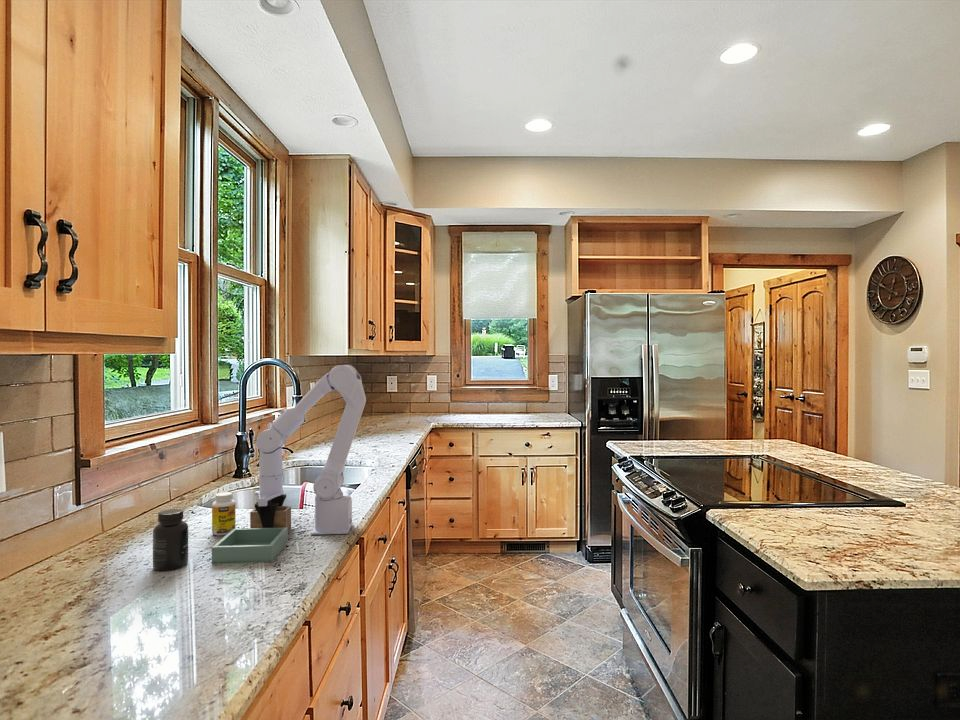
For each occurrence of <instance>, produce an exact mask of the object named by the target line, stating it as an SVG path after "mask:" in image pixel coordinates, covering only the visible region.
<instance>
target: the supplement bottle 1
mask: <svg viewBox="0 0 960 720" xmlns="http://www.w3.org/2000/svg"><path fill="white" fill-rule="evenodd" d="M157 516H158V517H157V522H158V524H156V525H155V526H154V528H153V529H152V567H153V569H154V570H155V571H156V572H157V571H159V572H167V571H168V572H169V571H174V570H177V569H180V568H183V567H185V566H186V565H187V564H188V563H189V524H188V523H187V522H186V521H184V518H185V517H184V516H185V515H184V510H183V509H181V508H170V509H165V510H164V509H163V510H161V511H159V512H158V515H157Z"/></svg>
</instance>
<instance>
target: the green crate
mask: <svg viewBox="0 0 960 720" xmlns="http://www.w3.org/2000/svg"><path fill="white" fill-rule="evenodd" d="M288 535H289V531H288V527H287V528H250V527H249V528H235V529H233V530H232V531H230V532H229V533H228V534H227V535H224V536H223V538H221V539H220V540H218V541H217V542H216V543H215V544H214V545H213V546H212V547H211V564H212V565H217V564H218V565H220V564H250V563H253V564H254V563H256V564H257V563H273V561H274V560H275V559H276V557H277V556H278V555H279V554H280V552H281V551H282V550H283V548H284V547H285V546H286V545H287V544H288V540H289V539H288V538H289V537H288ZM286 543H287V544H286Z"/></svg>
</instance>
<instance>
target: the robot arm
mask: <svg viewBox="0 0 960 720" xmlns="http://www.w3.org/2000/svg"><path fill="white" fill-rule="evenodd" d="M335 390H336V391H337V392H338V393H339V394H340V396H341V397H342V398H343V400H344V403H345V407H344V410H343V413H342V416H341V418H340V420H339V421H340V422H339V424H338V427H337V430H336V433H335V436H334V439H333V442H332V445H331V447H330V451H329V453H328V457H327V459H326V461H325V463H324V466H323V468H322V471H321V474H320V475H318V477H317V478H316V479H315V481H314V483H313V486H312V487H313V492H314V494H315V495H314V527H313V529H312V530H311V532H310V535H344V534H345V535H346V534H349V532H350V530H351V528H352V526H353V502H352V501H353V500H352V496H350V495H349V496H348V495H344V492H343V491H342V489H341V488H342V486H343V484H344V482H345V481H344V480H345V478H344V477H345V476H344V471H345V467H346V461H347V458H348V456H349V453H350V450H351V448H352V445H353V444H352V443H353V442H354V438H355V436H356V432H357V429H358V427H359V423H360V421H361V417H362V415H363V411H364V408H365V406H366V402H367V397H366V393H365V389H364V385H363V381H362V376H361V375H360V373H359V372H358V370H357V369H356V368H355V366H352V365H351V364H340V365H339V364H338V365H335V366H333V367H332V368H331V370H330V371H329V372H327V373H325V374H324V375H323V376H322V377H321V378H320V379H318V380H317V382H316V383H315V384H313V386H312V387H311V388H310V389H309V391H308V392H306V394H305V395H304V396H303V397H302V398H301V399H300V400H299V401H298V403H297V404H296V405H295V406H287V407H286V408H282V409H280V410H279V415H278V417H276V418H275V419H274V421H272V422H269V423H268V424H267V425H266V426H267V429H265V430H262V431H260V432H259V434H258V435H257V438H256V441H255V443H256V447H257V449H258V450H259V459H258V467H259V468H258V470H259V471H258V473H259V474H258V476H259V479H258V480H259V482H258V486H259V489H258V490H256V491H255V492H254V496H258V499H257V501H256V502H255V504H254V508H255V509H256V510H257V512H258V514H259V516H260V519H261V523H262V527H263V528H273V524H274V516H275V512H276V509H277V506H284V502H285V501H286V498H287V494H286V493H285V494H284V487H283V485H284V484H283V483H284V481H283V479H284V478H283V446H284V445H285V444H286V440H288V439H289V438H290V437H291V436H292V434H294V432H296V431H297V430H298V429H299V427H300V426H301V425H302V424H303V423H304V422H305V414H306V413H307V412H308V411H310V410H311V408H313V406H315V404H317V403H318V401H319V400H320V399H322V398H323V397H324V396H325V395H326V394H327V393H330V392H333V391H335Z"/></svg>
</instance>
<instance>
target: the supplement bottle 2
mask: <svg viewBox="0 0 960 720" xmlns="http://www.w3.org/2000/svg"><path fill="white" fill-rule="evenodd" d="M214 499H215V500H214V501H213V502H212V504H211V534H212V535H213V536H218V537H219V536H223V537H224V536H226V535H227V534H228V533H229V532H230V531H232V530H233V529H236V501H235V500H234V499H233V493H232V492H230V491H228V492H227V491H226V492H224V491H223V492H218V493H216V494H215V497H214Z"/></svg>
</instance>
